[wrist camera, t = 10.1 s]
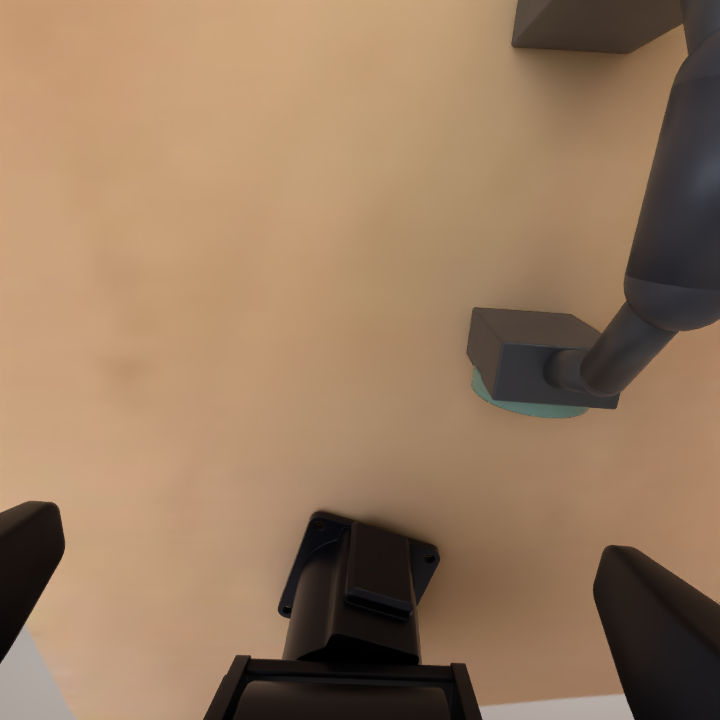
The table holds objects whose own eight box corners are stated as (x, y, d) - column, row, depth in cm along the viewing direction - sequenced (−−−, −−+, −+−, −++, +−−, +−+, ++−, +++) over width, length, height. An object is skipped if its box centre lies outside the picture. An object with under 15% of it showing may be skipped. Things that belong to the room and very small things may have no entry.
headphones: (652, -40, 15) (1137, -450, 5) (561, 374, 20) (734, 544, 10) (521, -47, 15) (770, -467, 6) (461, 367, 20) (539, 530, 10)
